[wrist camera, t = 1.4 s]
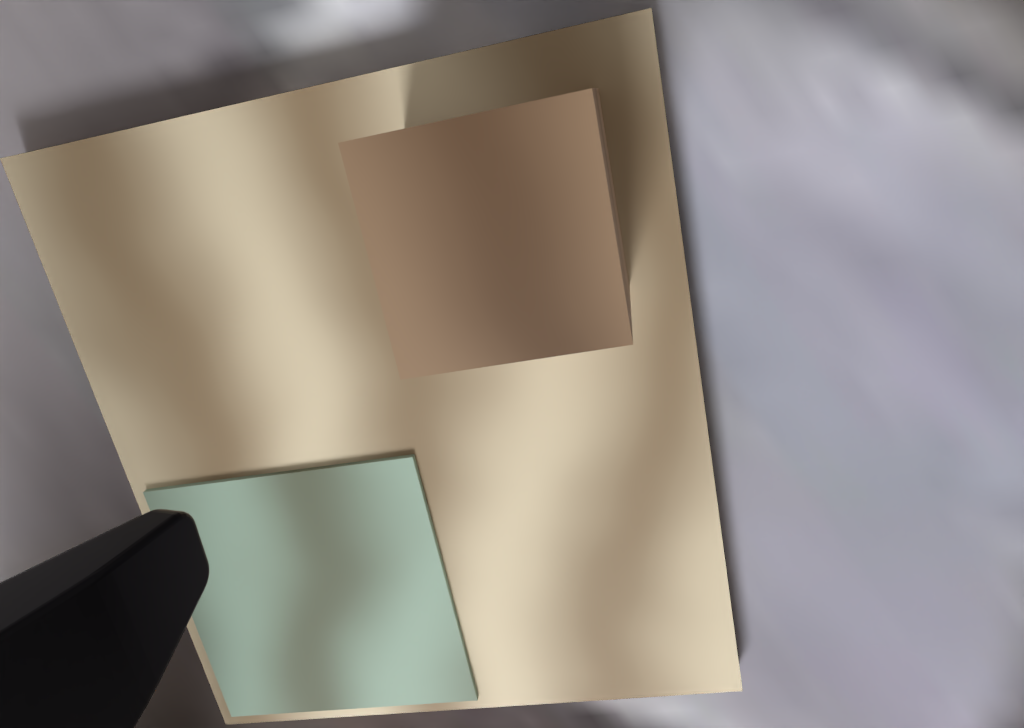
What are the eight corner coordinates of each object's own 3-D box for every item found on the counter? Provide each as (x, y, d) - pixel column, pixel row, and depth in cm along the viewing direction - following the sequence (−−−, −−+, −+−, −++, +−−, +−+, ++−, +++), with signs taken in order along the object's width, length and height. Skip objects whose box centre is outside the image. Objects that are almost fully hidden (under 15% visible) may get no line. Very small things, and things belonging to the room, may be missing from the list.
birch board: (238, 703, 28) (223, 728, 27) (25, 155, 22) (-6, 159, 21) (738, 668, 25) (743, 696, 24) (650, 11, 19) (651, 6, 18)
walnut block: (448, 315, 21) (400, 379, 16) (404, 129, 20) (337, 143, 15) (629, 285, 20) (633, 344, 16) (598, 88, 19) (592, 87, 14)
